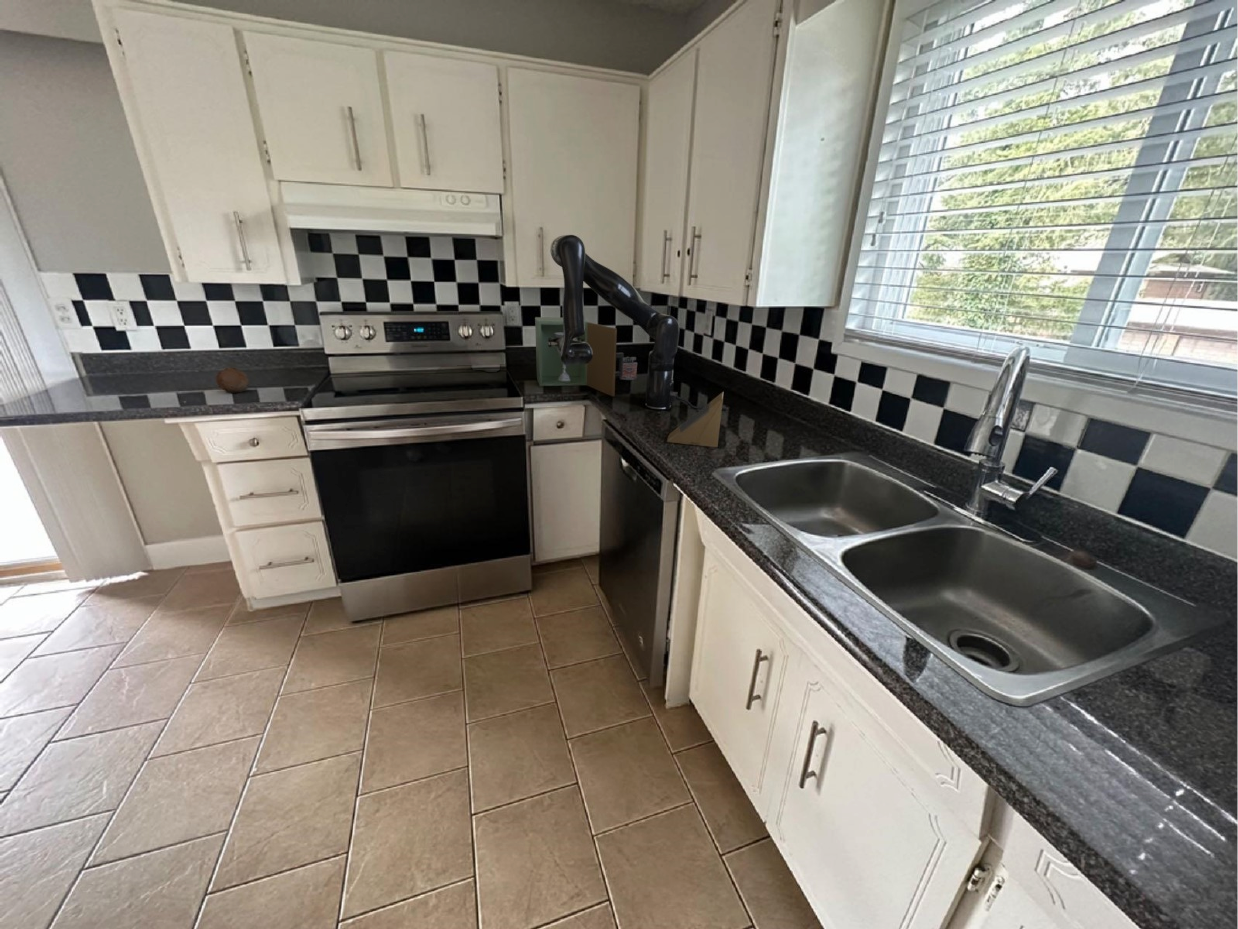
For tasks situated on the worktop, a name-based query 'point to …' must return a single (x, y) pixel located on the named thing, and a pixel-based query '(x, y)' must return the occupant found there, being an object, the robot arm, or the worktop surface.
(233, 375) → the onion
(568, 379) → the chalice
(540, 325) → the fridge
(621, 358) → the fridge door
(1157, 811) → the worktop surface
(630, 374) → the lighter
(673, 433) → the sandwich container
